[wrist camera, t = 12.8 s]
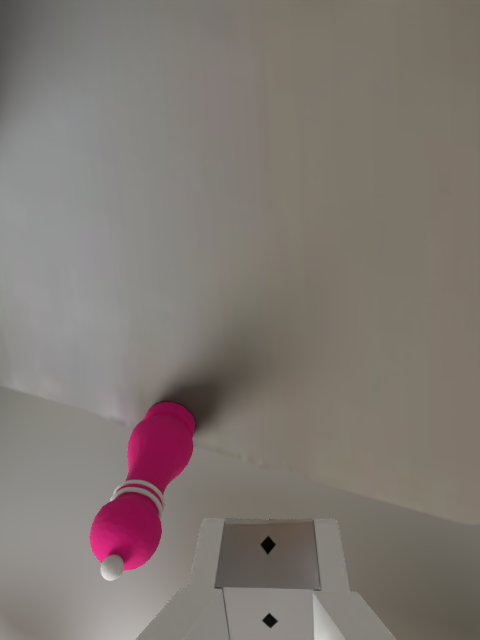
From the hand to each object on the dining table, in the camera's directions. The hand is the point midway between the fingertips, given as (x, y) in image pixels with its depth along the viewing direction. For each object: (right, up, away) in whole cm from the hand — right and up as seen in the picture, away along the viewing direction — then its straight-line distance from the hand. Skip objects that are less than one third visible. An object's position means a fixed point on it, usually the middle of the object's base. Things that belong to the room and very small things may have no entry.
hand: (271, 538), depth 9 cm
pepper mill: (-9, -8, +41) cm, 43 cm away
